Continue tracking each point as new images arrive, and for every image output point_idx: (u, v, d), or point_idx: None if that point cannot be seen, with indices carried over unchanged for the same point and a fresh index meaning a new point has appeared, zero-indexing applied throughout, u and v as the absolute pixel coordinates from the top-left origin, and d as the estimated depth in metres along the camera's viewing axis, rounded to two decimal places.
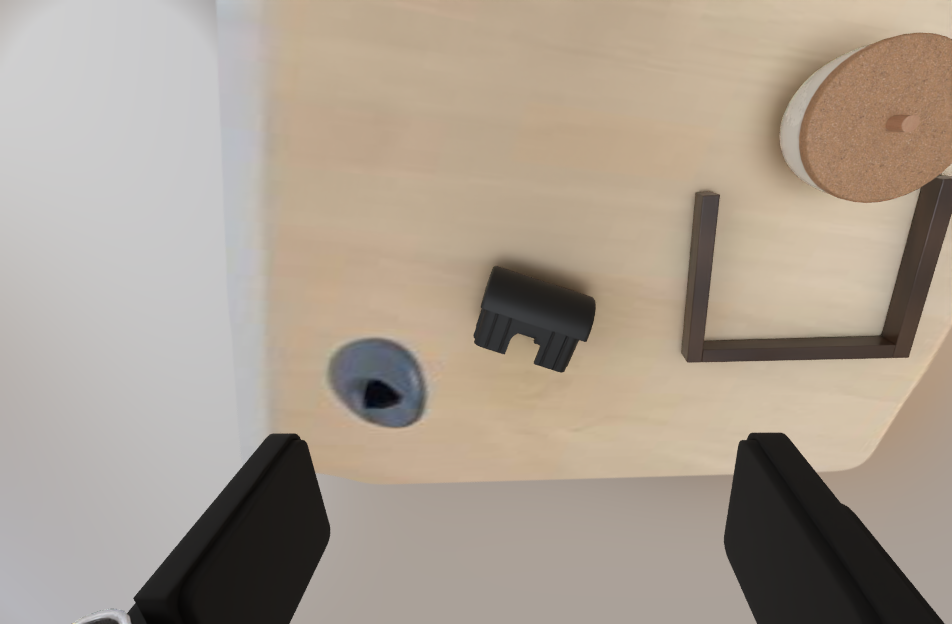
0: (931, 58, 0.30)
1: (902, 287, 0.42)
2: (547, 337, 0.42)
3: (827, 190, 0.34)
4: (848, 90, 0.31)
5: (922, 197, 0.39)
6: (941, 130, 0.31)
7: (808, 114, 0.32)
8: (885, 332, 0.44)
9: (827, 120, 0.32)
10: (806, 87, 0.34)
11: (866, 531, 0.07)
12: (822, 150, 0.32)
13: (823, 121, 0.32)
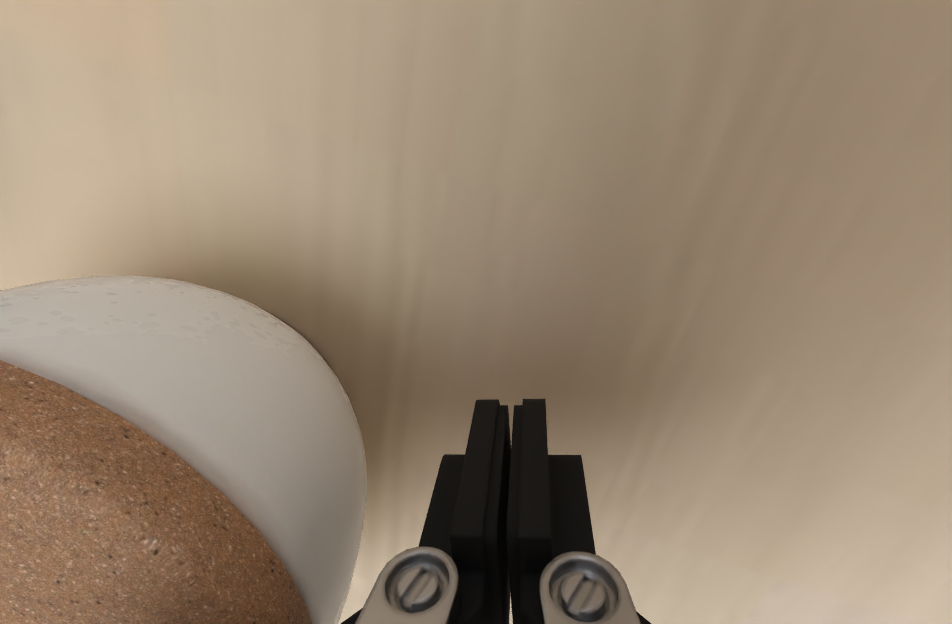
0: None
1: None
2: None
3: None
4: None
5: None
6: None
7: None
8: None
9: None
10: (170, 330, 0.08)
11: (581, 474, 0.09)
12: None
13: None
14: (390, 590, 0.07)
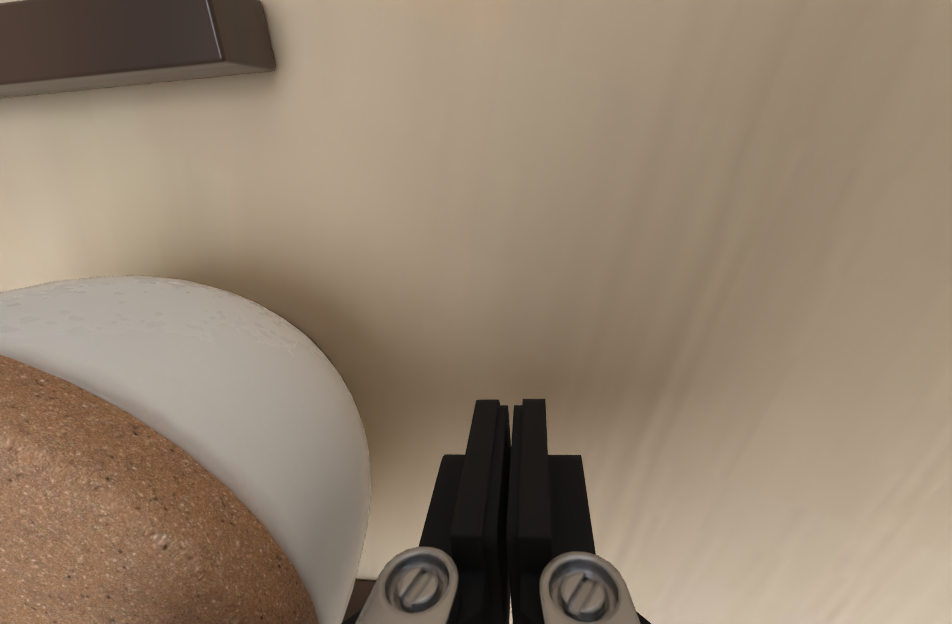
0: None
1: None
2: None
3: None
4: None
5: None
6: None
7: None
8: None
9: None
10: (176, 329, 0.08)
11: (581, 474, 0.09)
12: None
13: None
14: (390, 590, 0.07)
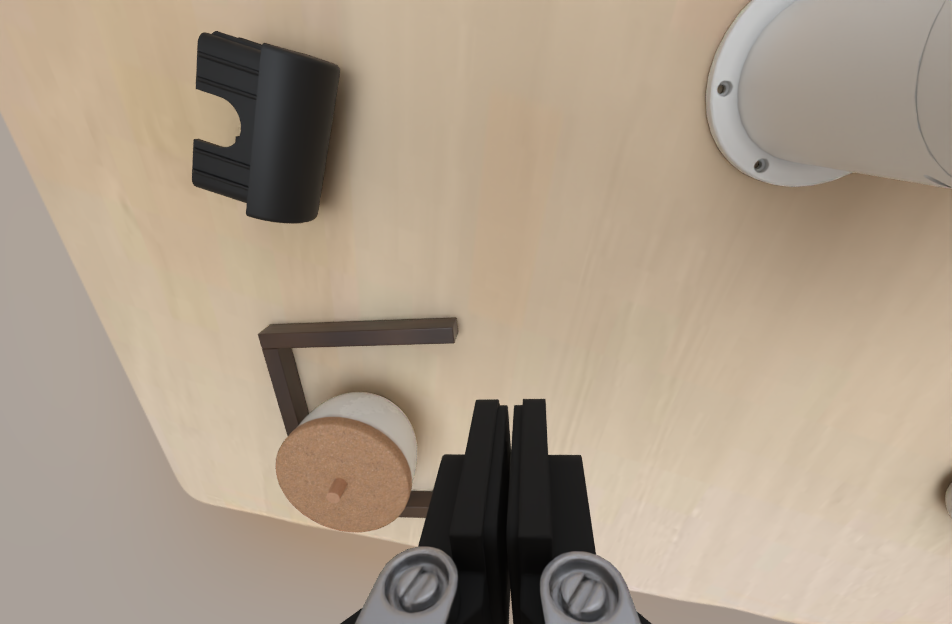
0: (390, 496, 0.35)
1: None
2: (240, 158, 0.28)
3: (280, 447, 0.35)
4: (361, 448, 0.34)
5: None
6: (339, 513, 0.37)
7: (341, 422, 0.34)
8: None
9: (335, 438, 0.34)
10: (377, 411, 0.36)
11: (581, 474, 0.09)
12: (311, 439, 0.34)
13: (334, 435, 0.34)
14: (390, 590, 0.07)
